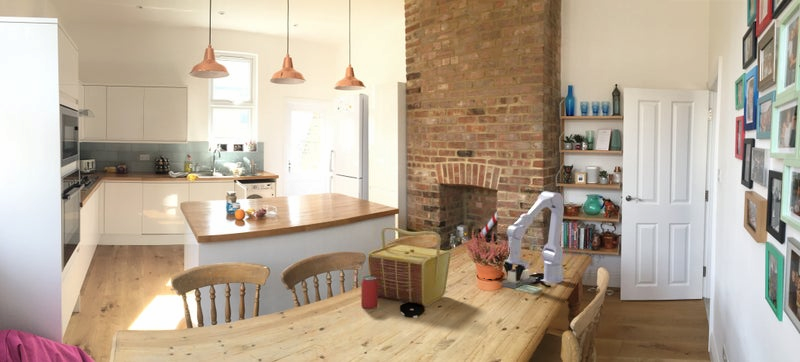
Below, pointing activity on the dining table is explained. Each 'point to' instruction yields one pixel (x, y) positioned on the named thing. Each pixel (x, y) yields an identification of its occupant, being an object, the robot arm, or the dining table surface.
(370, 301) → the beer can
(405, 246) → the picnic basket
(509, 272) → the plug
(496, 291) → the dining table surface
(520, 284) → the small drawer cabinet
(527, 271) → the pull-out knob drawer
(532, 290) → the tray
